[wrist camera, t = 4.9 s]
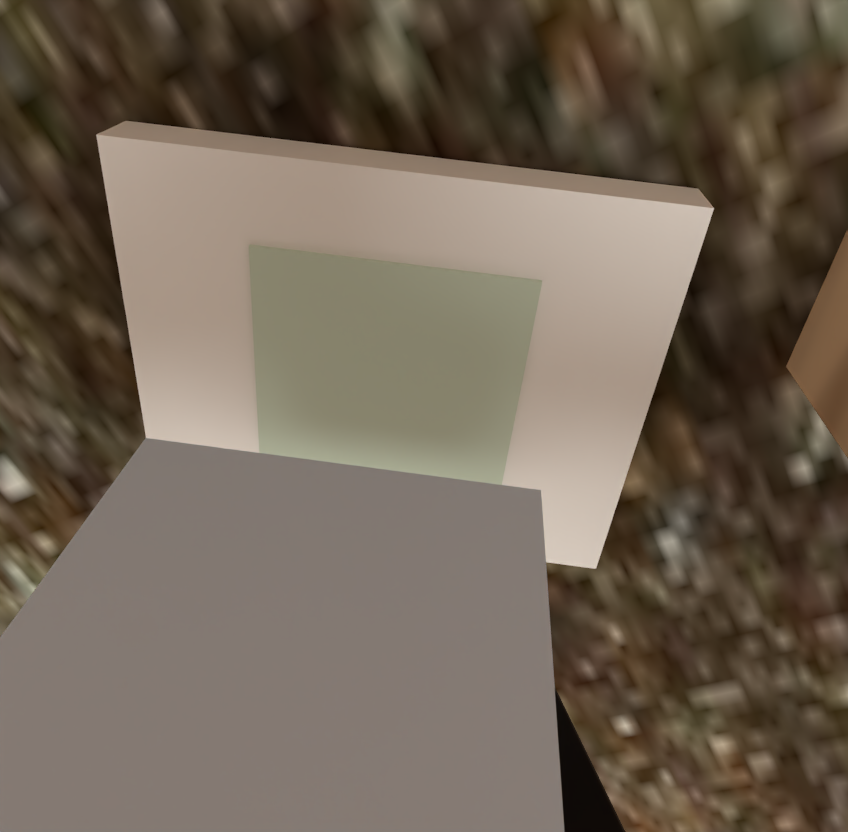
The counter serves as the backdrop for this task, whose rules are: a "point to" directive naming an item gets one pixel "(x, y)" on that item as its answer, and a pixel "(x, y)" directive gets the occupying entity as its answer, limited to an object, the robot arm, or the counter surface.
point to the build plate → (400, 310)
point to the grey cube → (285, 656)
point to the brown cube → (827, 350)
